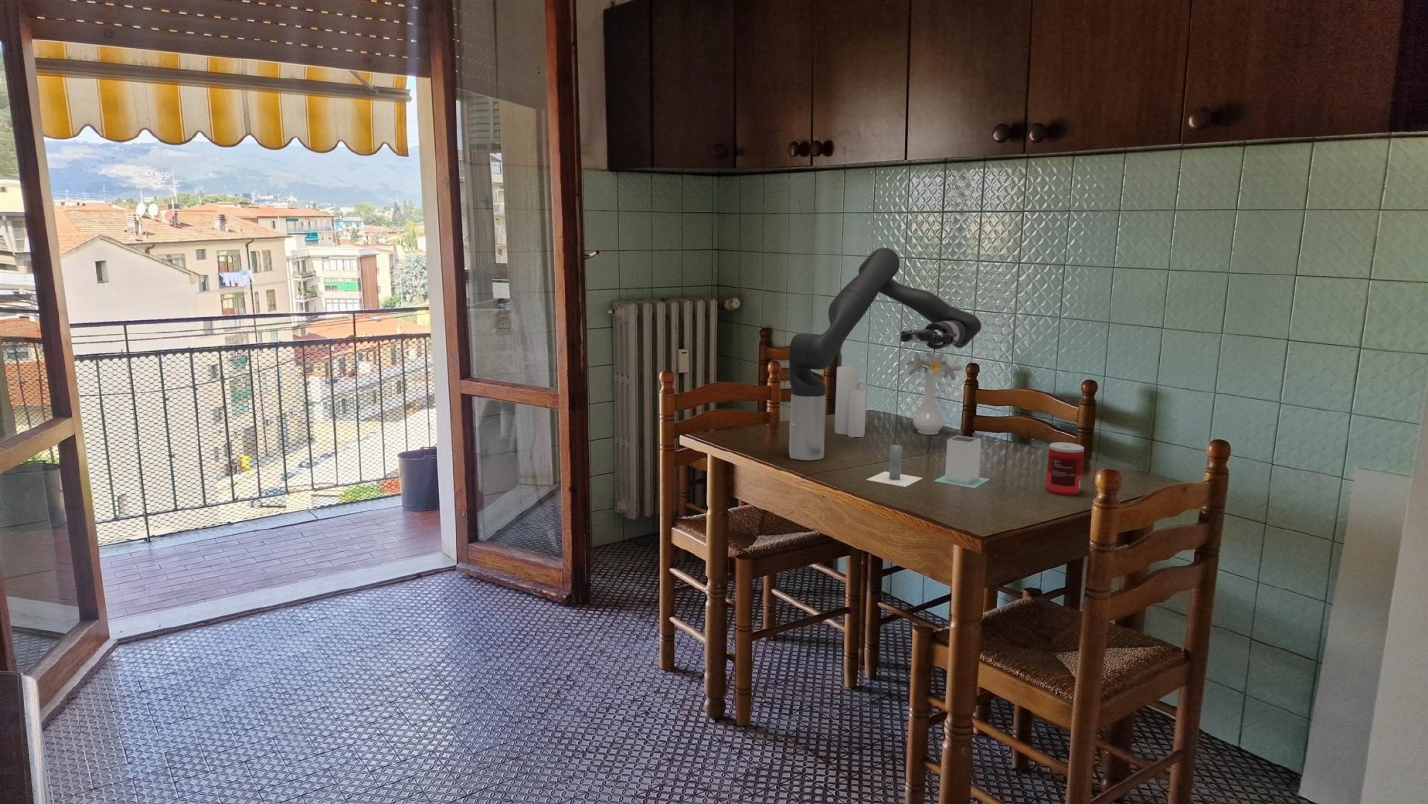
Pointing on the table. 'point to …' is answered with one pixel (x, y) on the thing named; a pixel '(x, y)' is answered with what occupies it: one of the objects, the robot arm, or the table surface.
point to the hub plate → (972, 485)
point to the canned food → (1064, 468)
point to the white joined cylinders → (850, 403)
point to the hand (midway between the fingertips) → (917, 339)
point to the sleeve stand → (895, 471)
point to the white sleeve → (963, 459)
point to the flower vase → (931, 389)
